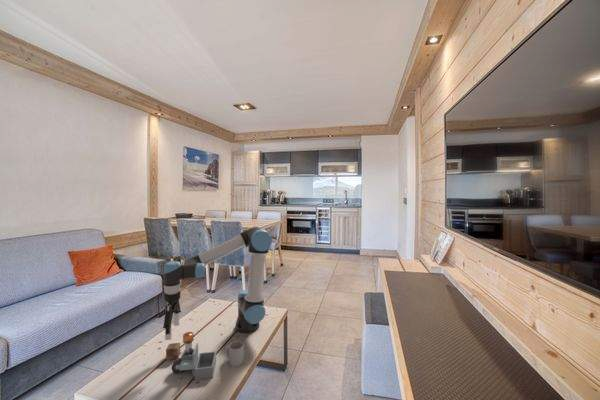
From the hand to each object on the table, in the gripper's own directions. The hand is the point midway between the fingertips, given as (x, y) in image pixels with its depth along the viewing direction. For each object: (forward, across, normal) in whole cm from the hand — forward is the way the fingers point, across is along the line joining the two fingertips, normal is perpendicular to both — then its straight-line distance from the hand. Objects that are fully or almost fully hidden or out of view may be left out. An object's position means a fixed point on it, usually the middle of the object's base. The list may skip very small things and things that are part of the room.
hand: (172, 332), depth 135 cm
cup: (+13, +9, +32) cm, 36 cm away
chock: (+13, 0, 0) cm, 13 cm away
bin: (+13, +13, +19) cm, 26 cm away
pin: (+7, +10, +10) cm, 16 cm away
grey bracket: (+13, +12, +9) cm, 20 cm away
